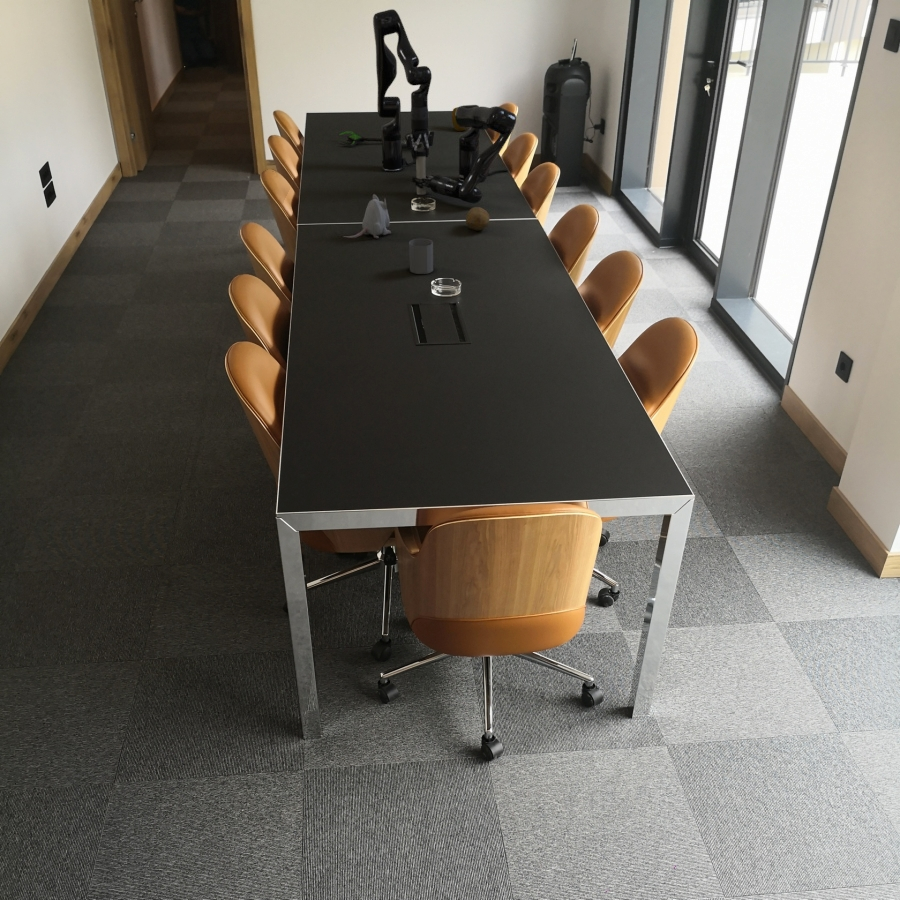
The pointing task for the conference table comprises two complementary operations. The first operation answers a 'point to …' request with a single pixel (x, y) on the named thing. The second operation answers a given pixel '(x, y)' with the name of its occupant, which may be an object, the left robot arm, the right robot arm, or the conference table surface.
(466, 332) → the conference table surface
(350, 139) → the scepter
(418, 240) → the cup
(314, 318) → the conference table surface
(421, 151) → the lid
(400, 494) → the conference table surface
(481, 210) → the potato
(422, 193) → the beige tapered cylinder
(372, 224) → the toy
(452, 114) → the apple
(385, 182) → the conference table surface
